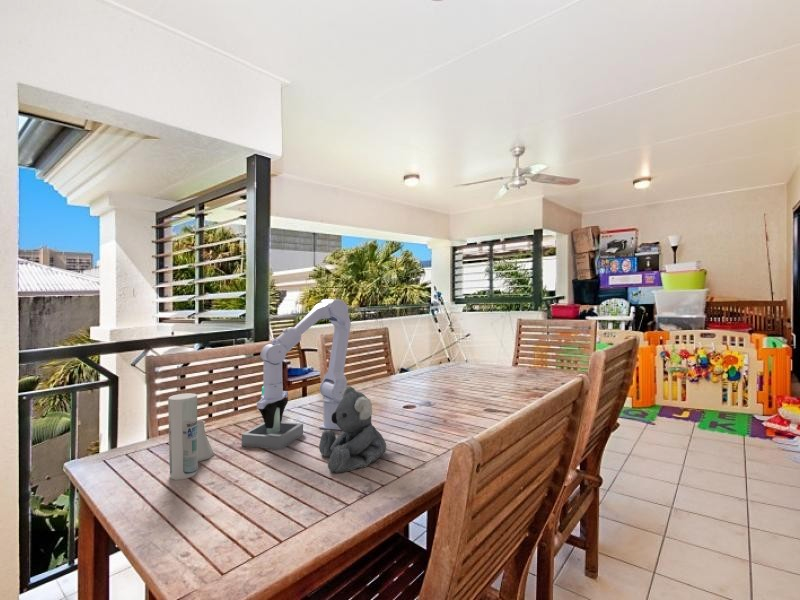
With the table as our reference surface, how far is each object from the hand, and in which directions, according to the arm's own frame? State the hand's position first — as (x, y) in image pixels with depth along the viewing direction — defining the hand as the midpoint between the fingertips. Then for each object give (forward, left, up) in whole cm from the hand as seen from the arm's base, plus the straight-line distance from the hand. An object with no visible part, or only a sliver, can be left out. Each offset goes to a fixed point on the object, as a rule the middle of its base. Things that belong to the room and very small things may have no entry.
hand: (273, 425), depth 127 cm
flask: (+13, +17, -5) cm, 22 cm away
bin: (0, 0, -4) cm, 4 cm away
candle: (+17, -25, -5) cm, 31 cm away
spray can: (+9, +27, -5) cm, 29 cm away
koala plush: (-30, +7, -5) cm, 31 cm away
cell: (0, 0, -2) cm, 2 cm away
